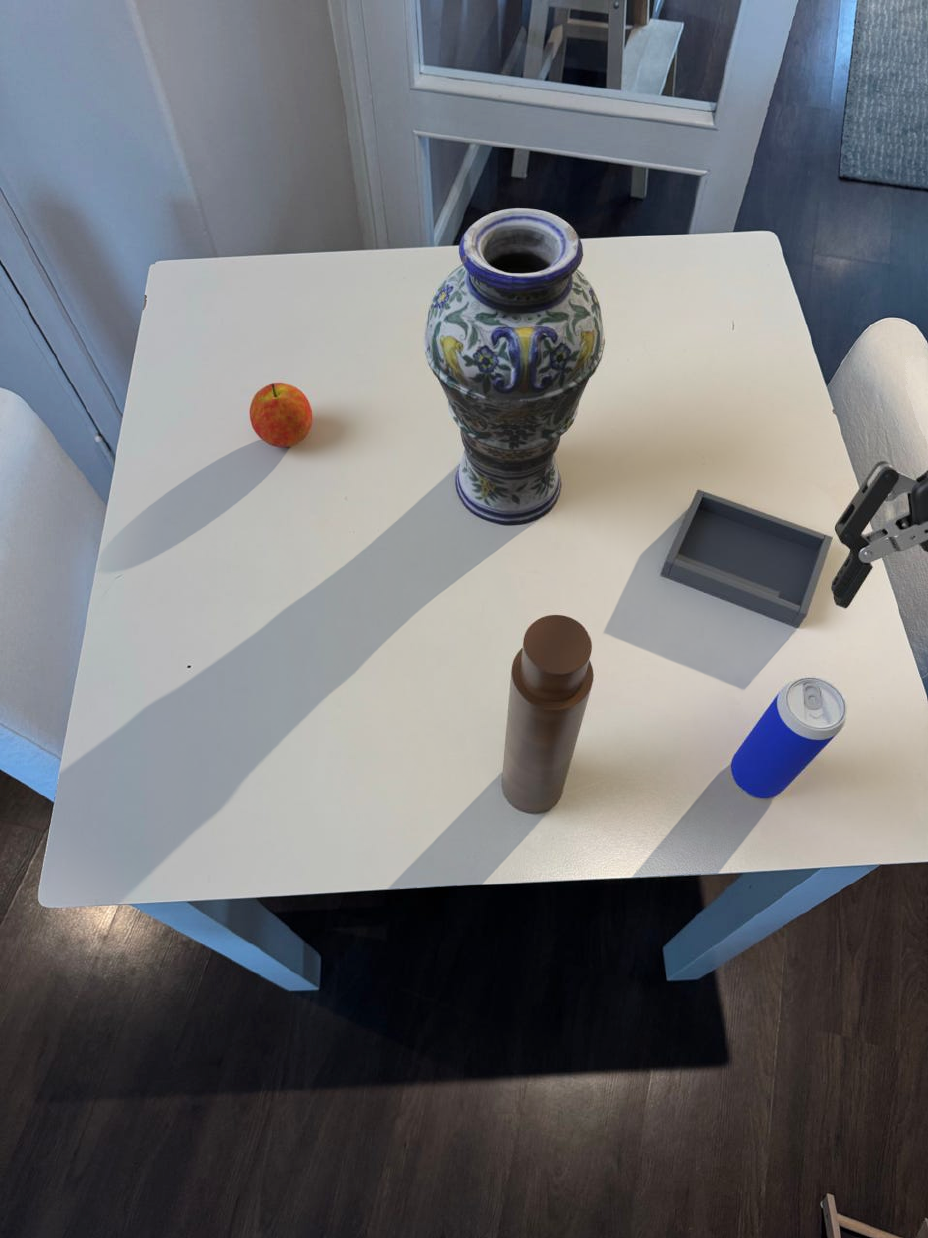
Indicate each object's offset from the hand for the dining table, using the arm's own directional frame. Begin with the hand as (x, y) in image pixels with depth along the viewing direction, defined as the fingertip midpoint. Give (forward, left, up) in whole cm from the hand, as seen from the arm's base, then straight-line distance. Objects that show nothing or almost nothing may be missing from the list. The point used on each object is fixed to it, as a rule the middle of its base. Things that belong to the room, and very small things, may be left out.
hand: (894, 626), depth 62 cm
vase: (+38, -15, -19) cm, 45 cm away
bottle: (+21, +16, -19) cm, 33 cm away
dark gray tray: (+11, -16, -19) cm, 27 cm away
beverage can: (+3, +6, -19) cm, 21 cm away
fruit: (+64, -10, -19) cm, 67 cm away
